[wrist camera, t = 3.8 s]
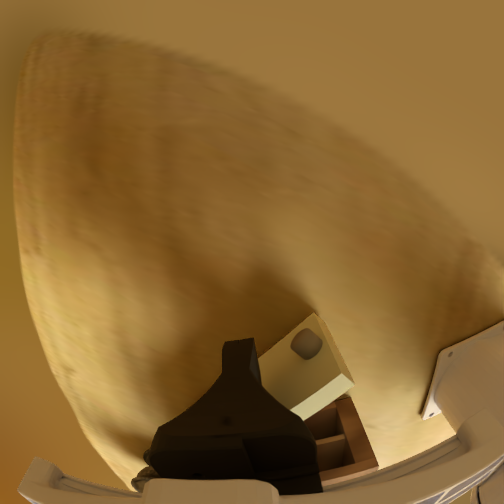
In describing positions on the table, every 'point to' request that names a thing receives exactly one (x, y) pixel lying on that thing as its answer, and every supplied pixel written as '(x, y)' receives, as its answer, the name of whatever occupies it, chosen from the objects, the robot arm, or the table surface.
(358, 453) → the cabinet
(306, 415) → the door
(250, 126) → the table surface
